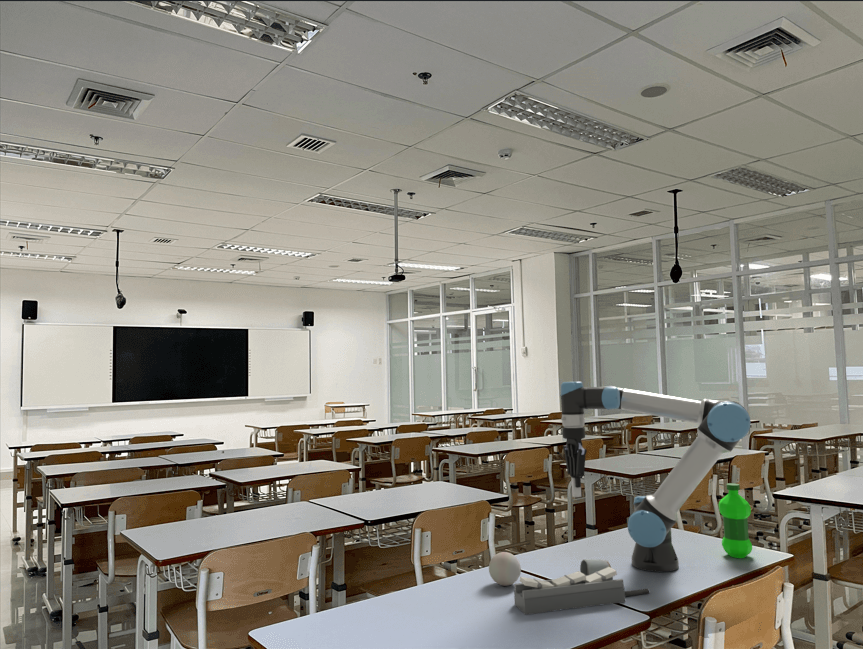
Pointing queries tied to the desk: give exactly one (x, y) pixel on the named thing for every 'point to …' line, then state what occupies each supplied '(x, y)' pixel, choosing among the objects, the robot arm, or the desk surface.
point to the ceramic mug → (593, 566)
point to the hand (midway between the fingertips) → (576, 496)
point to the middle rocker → (569, 579)
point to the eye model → (504, 568)
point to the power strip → (571, 595)
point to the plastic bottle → (735, 523)
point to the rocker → (601, 575)
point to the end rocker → (535, 583)
